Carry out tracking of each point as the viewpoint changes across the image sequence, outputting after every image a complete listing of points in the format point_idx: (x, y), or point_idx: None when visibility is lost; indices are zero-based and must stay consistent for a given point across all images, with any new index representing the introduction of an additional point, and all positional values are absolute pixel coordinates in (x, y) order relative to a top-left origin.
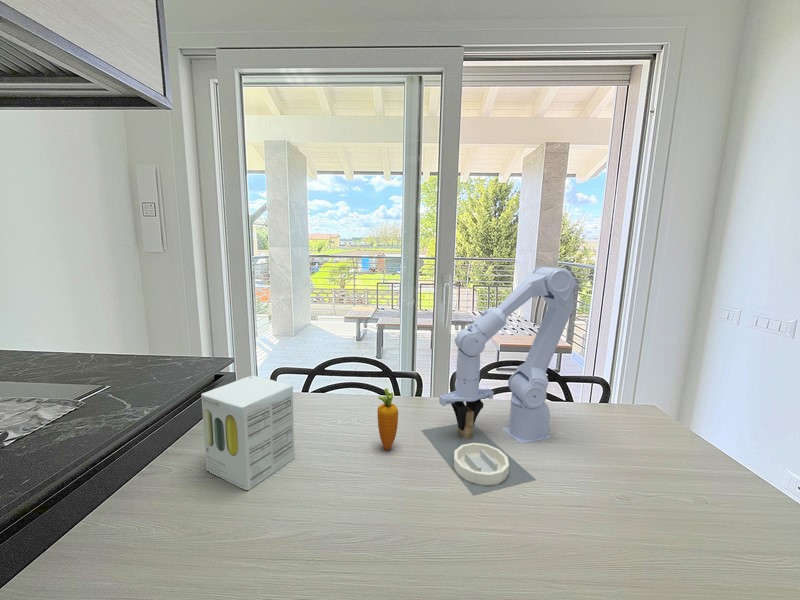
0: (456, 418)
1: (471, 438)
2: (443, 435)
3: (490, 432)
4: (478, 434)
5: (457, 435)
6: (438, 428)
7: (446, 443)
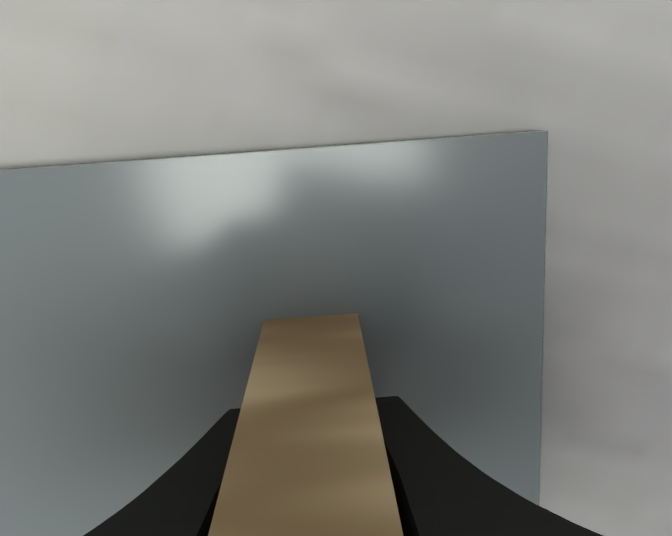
0: (180, 460)
1: None
2: (55, 368)
3: (639, 375)
4: (468, 431)
5: (221, 403)
6: (37, 199)
7: (42, 516)
